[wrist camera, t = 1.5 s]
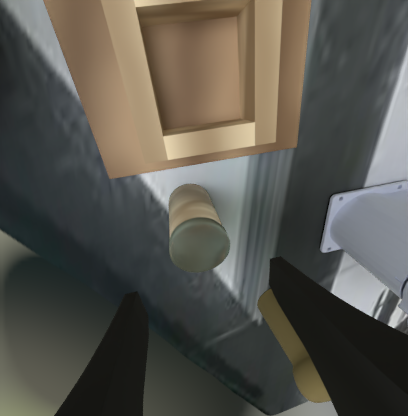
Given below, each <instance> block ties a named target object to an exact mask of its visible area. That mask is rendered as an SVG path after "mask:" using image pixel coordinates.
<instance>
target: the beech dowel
mask: <svg viewBox="0 0 408 416" xmlns="http://www.w3.org/2000/svg"><path fill="white" fill-rule="evenodd" d="M169 228H170V240H169V253H170V257H171V260H172V261H173V263H174V264H175V265H176V266H177V267H179V268H180V269H182V270H185V271H188V272H204V271H208V270H211V269H213V268H215V267H216V266H218V265H219V264H221V263H222V262H223V261H224V259H225V258H226V257H227V255H228V253H229V250H230V240H229V238H228V235H227V233H226V231H225V229H224V227H223V226H222V224H221V221H220V219H219V217H218V215H217V213H216V210H215V208H214V206H213V204H212V201H211V199H210V197H209V195H208V193H207V191H206V190H205V189H204V188H202V187H201V186H199V185H196V184H185V185H182V186H180V187H178V188H177V189H175V190H174V191H173V193H172V194H171V196H170V199H169Z"/></svg>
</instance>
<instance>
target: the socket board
mask: <svg viewBox="0 0 408 416" xmlns="http://www.w3.org/2000/svg"><path fill="white" fill-rule="evenodd" d="M43 1H44V4H45V6H46V9H47V12H48V14H49V17H50V20H51V22H52V25H53V28H54V30H55V33H56V36H57V38H58V41H59V44H60V46H61V49H62V52H63V55H64V57H65V60H66V63H67V65H68V68H69V71H70V73H71V76H72V79H73V81H74V84H75V87H76V89H77V92H78V95H79V97H80V100H81V103H82V106H83V108H84V111H85V114H86V116H87V119H88V122H89V124H90V127H91V130H92V132H93V135H94V138H95V140H96V143H97V146H98V148H99V151H100V154H101V156H102V159H103V162H104V165H105V167H106V170H107V173H108V175H109V178H110V179H113V178H119V177H125V176H130V175H136V174H142V173H148V172H154V171H160V170H166V169H172V168H177V167H183V166H189V165H195V164H201V163H207V162H213V161H218V160H224V159H230V158H236V157H242V156H248V155H254V154H259V153H265V152H271V151H277V150H283V149H289V148H295V147H297V139H298V129H299V119H300V109H301V98H302V88H303V78H304V68H305V58H306V48H307V38H308V28H309V18H310V8H311V0H43Z"/></svg>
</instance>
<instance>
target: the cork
mask: <svg viewBox="0 0 408 416" xmlns="http://www.w3.org/2000/svg"><path fill="white" fill-rule="evenodd" d="M257 306H258V308H259V310H260V312H261V313H262V315H263V317H264V318H265V320H266V322H267V323H268V325H269V327H270V328H271V330H272V332H273V333H274V335H275V336H276V338H277V340H278V341H279V343H280V345H281V346H282V348H283V350H284V351H285V353H286V354H287V356H288V358H289V359H290V361H291V363H292V364H293V375H294V379H295V382H296V384H297V387H298V389H299V390H300V392H301V393H302V395H303V396H304V397H306V398H307V399H308V400H309V401H312V402H315V403H321V402H327V401H331V399H330V397H329V395H328V393H327V390H326V388H325V386H324V384H323V382H322V380H321V378H320V376H319V374H318V372H317V370H316V368H315V366H314V364H313V362H312V360H311V358H310V356H309V354H308V352H307V351H306V349H305V347H304V345H303V344H302V342H301V340H300V339H299V337H298V335H297V334H296V332H295V330H294V329H293V327H292V326H291V324H290V322H289V321H288V319H287V317H286V316H285V314H284V312H283V311H282V309H281V307H280V306H279V304H278V302H277V300H276V298H275V296H274V294H273V292H272V290H271V289H269V290H267V291H266V292H265V293H264V294H263V295H262V296H261V297H260V298H259V300H258V305H257Z"/></svg>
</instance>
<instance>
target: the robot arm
mask: <svg viewBox="0 0 408 416" xmlns="http://www.w3.org/2000/svg"><path fill="white" fill-rule="evenodd" d="M339 198H340V199H339ZM339 249H343V250H344V251H345V252H346V253H348V254H349V255H350V256H351V257H352V258H354V259H355V260H356V261H357V262H358V263H359V264H361V265H362V266H363V267H364V268H365V269H367V270H368V271H369V272H370V273H371V274H372V275H374V276H375V277H376V278H377V279H378V280H380V281H381V282H382V283H383V284H384V285H385V286H387V287H388V288H389V289H390V290H391V291H393V292H394V293H395V294H396V295H397V296H399V297H400V298H401V299H402V301H401V303H400V304H399V305H398V307H399V308H401V309H402V310H403V311H404V312H405V313H406V314H407V315H408V180H405V181H400V182H395V183H390V184H385V185H380V186H375V187H369V188H364V189H359V190H354V191H349V192H344V193H339V194H334V195H333V196H332V197H331V198H330V203H329V207H328V212H327V217H326V222H325V227H324V232H323V237H322V242H321V247H320V250H321V251H322V252H323V253H325V252H330V251H334V250H339ZM269 285H270V287H271V290H272V292H273V294H274V296H275V298H276V300H277V302H278V304H279V306H280V307H281V309H282V311H283V312H284V314H285V316H286V317H287V319H288V321H289V322H290V324H291V326H292V327H293V329H294V330H295V332H296V334H297V335H298V337H299V339H300V340H301V342H302V344H303V345H304V347H305V349H306V351H307V352H308V354H309V356H310V358H311V360H312V362H313V364H314V366H315V368H316V370H317V372H318V374H319V376H320V378H321V380H322V382H323V384H324V386H325V388H326V390H327V393H328V395H329V397H330V399H331V401H332V403H333V405H334V407H335V410H336V412H337V414H338V416H408V335H407V334H404V333H402V332H400V331H398V330H396V329H394V328H392V327H390V326H388V325H386V324H384V323H382V322H380V321H378V320H376V319H374V318H373V317H371V316H369V315H367V314H365V313H364V312H362V311H360V310H358V309H356V308H355V307H353V306H351V305H350V304H348V303H346V302H345V301H343V300H341V299H340V298H338V297H337V296H335V295H334V294H332V293H331V292H329V291H327V290H326V289H325V288H323V287H322V286H320V285H319V284H317V283H316V282H314V281H313V280H312V279H310V278H309V277H307V276H306V275H305V274H303V273H302V272H301V271H299V270H298V269H297V268H295V267H294V266H293V265H291V264H290V263H289V262H287V261H286V260H285V259H283V258H282V257H281V256H280V257H276V258H272V259H270V275H269ZM407 323H408V321H407ZM148 330H149V326H148V314H147V312H146V309H145V307H144V305H143V303H142V301H141V298H140V296H139V294H138V292H133V293H129V294H125V296H124V297H123V299H122V301H121V303H120V306H119V308H118V310H117V312H116V314H115V316H114V318H113V320H112V322H111V324H110V326H109V328H108V330H107V331H106V333H105V335H104V337H103V339H102V341H101V343H100V344H99V346H98V348H97V350H96V351H95V353H94V355H93V357H92V358H91V360H90V362H89V364H88V365H87V367H86V368H85V370H84V372H83V373H82V375H81V376H80V378H79V380H78V381H77V383H76V384H75V386H74V388H73V389H72V390H71V392H70V394H69V395H68V396H67V398H66V400H65V401H64V402H63V404H62V405H61V407H60V408H59V410H58V411H57V413H56V414H55V415H54V416H143V394H144V382H145V371H146V360H147V350H148V349H147V348H148V337H149V332H148Z"/></svg>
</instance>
